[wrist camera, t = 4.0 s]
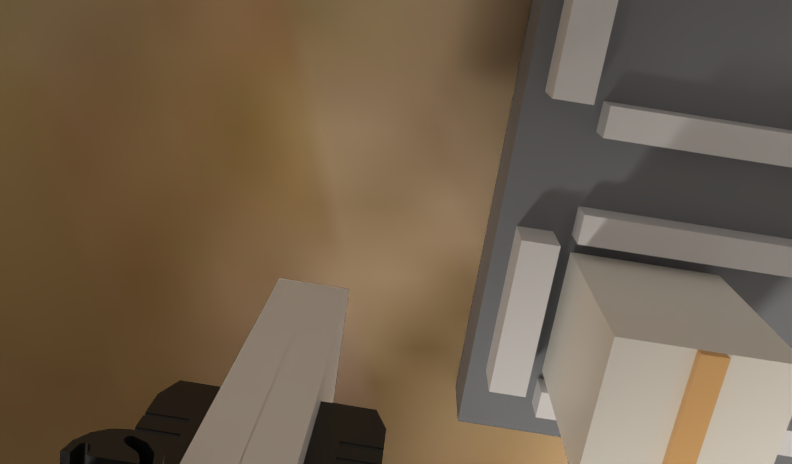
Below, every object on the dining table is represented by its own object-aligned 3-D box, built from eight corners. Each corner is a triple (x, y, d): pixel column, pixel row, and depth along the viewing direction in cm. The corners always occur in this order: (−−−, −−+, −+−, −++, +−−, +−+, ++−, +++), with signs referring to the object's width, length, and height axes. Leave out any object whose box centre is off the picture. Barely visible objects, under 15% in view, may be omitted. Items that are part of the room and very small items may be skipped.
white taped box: (542, 370, 21) (576, 490, 16) (570, 251, 20) (616, 341, 15) (682, 392, 21) (759, 518, 16) (718, 275, 20) (814, 371, 15)
